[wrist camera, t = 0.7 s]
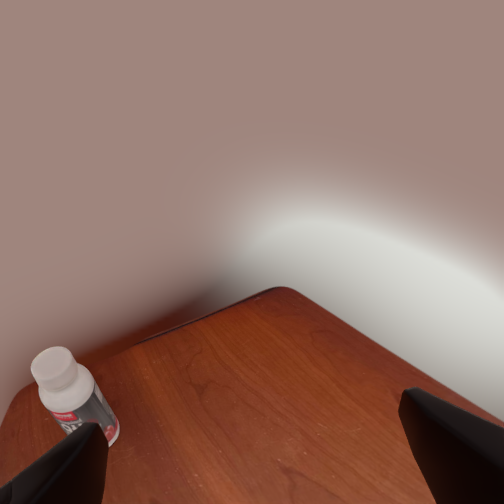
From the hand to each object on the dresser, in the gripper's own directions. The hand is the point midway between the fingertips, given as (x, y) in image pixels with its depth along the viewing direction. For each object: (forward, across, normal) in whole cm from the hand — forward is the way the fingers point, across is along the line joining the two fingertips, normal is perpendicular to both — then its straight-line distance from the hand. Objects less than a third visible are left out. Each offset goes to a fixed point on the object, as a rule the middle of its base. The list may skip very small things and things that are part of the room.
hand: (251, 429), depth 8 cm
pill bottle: (+14, +15, +15) cm, 26 cm away
